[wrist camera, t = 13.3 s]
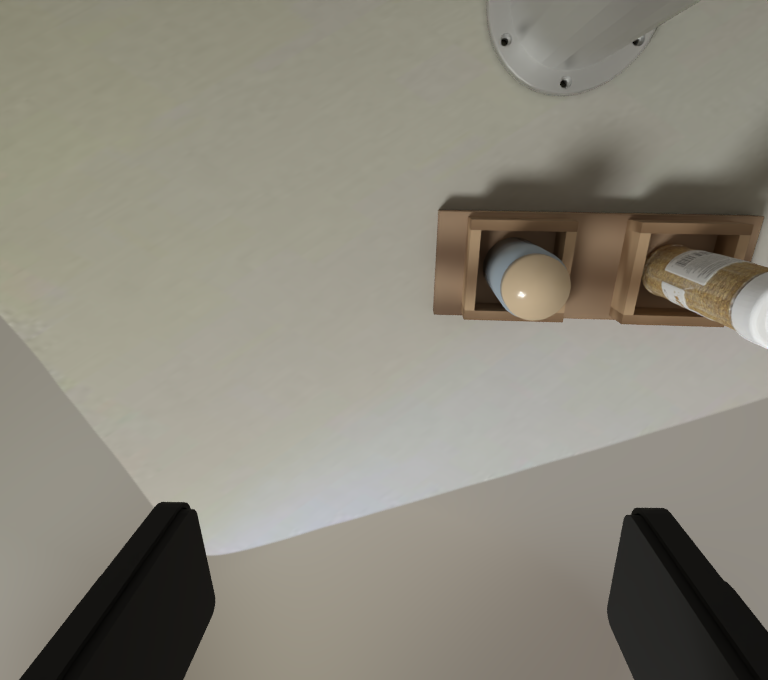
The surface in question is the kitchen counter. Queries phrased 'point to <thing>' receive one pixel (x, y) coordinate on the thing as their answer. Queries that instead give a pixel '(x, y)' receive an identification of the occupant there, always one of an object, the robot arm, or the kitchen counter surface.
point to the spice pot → (526, 278)
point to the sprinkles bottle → (712, 288)
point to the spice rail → (582, 259)
